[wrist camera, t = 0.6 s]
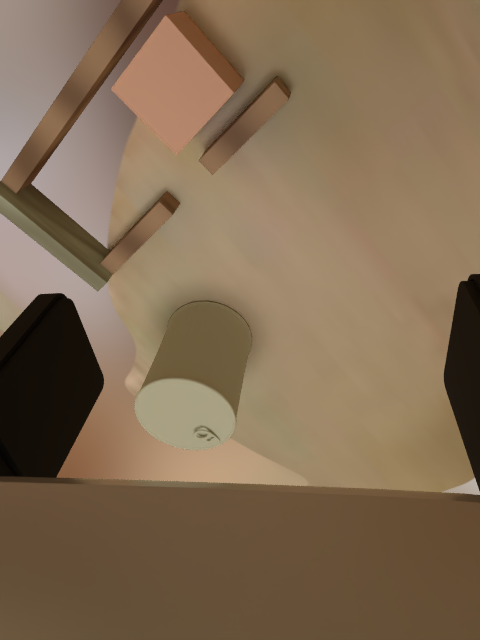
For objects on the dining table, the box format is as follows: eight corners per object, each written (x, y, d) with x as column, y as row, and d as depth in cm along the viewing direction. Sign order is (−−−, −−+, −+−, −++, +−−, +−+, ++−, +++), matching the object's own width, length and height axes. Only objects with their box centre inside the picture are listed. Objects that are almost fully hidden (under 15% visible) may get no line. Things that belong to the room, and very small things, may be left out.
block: (184, 11, 32) (165, 14, 28) (244, 80, 34) (233, 92, 30) (134, 77, 35) (110, 89, 31) (191, 137, 37) (176, 155, 33)
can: (211, 380, 53) (188, 467, 43) (150, 331, 50) (111, 413, 40) (270, 341, 48) (258, 429, 39) (207, 284, 45) (177, 365, 36)
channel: (169, -54, 30) (152, -59, 27) (290, 92, 34) (287, 103, 31) (9, 182, 42) (-17, 199, 38) (113, 270, 46) (97, 291, 42)
